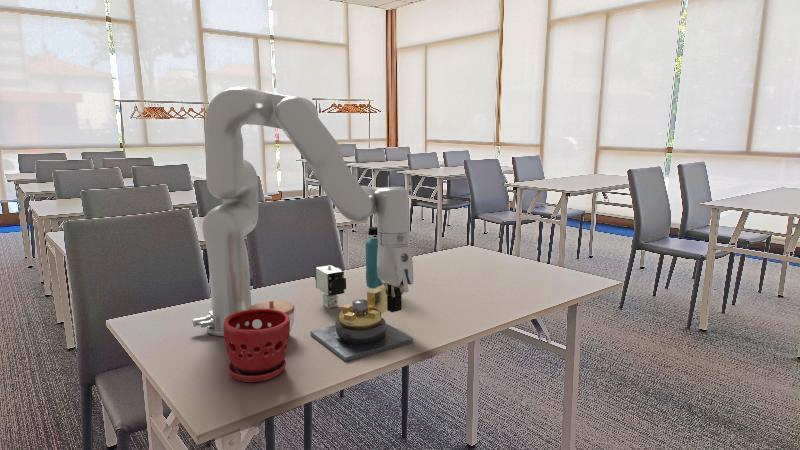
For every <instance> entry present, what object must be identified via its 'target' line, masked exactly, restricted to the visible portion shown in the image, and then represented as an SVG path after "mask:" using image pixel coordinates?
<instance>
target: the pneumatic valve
mask: <svg viewBox="0 0 800 450" xmlns="http://www.w3.org/2000/svg"><path fill="white" fill-rule="evenodd" d="M314 272H315V273H314V281H315V288H316V289H317V290H319V291H320V292H322V293H323V294H322V302H323V303H322V306H323V307H324V308H326V309H328V310H329V309H332V308H338V307H339V300H338V299H339V295H342V294H345V290H347V278H346V277H345V271H343V270H342V269H341V268H339V267H335V266H333V265H331V264H328V265H321V266H315V271H314Z"/></svg>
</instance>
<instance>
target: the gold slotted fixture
mask: <svg viewBox="0 0 800 450" xmlns="http://www.w3.org/2000/svg"><path fill="white" fill-rule="evenodd" d="M387 296H388V295H387V294H386V290H385V286H384V285H381V286H379V287H376V288H374V289H373V288H371V289H370V290H367V291H366V299H365V298H364V299H362V298H361V299H359V298H358V299H354V300H352V303H351V304H352V305H351V304H347V303H346V304H344V305H341V306H340V312H339V316H338V318H339V319H338V320H339V323H340V325H341V326H342V327H344V328H348V329H354V330H363V329H370V328H374V327H376V326H378V325H379V324H380V323H381V318H382V314H383V313H385V312H388V310H387Z"/></svg>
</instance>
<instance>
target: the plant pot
mask: <svg viewBox="0 0 800 450" xmlns="http://www.w3.org/2000/svg"><path fill="white" fill-rule="evenodd" d="M256 319H258V320H260V321H261V322H262V326H261V327H260V328H258V329H256V328H254V327H253V326H252V323H253V321H254V320H256ZM246 322H249V325H248V326H245V323H246ZM268 323H271V327H269V326H268ZM237 324H239V325H240V327H239V328H236V325H237ZM290 333H291V331H290V319H289V316H288V315H287V314H286V313H284V312H282V311H278V310H273V309H249V310H244V311H240V312H236V313H234V314H231V315H229V316H228V317H227V318H226V319H225V320H224V336H223V338H224V340H223V341H224V346H225V351H226V354H227V356H228V359H229V361H230V362H229V363H228V365H227V371H228V373H229V374H230V376H231V377H233V378H234V379H235V380H237V381H242V382H245V383H247V382H248V383H255V382H257V383H258V382H262V381H267V380H270V379H274V378H275V377H276V376H278V375H280V374H281V373H282V372H283V371H284V370H285V368H286V365H287V361H286V358H285V356H286V354H287V351H288V347H289V341H290Z"/></svg>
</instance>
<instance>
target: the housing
mask: <svg viewBox="0 0 800 450" xmlns="http://www.w3.org/2000/svg"><path fill="white" fill-rule="evenodd" d="M310 336H311V337H313V339H315V340H316V341H317V342H319V343H320V344H321V345H323V346H324V347H326V348H327V349H328V350H330V351H331V352H332V353H334V354H335V355H336V356H337V357H339V358H340V359H342V360H343V361H344V362H350V361H353V360H356V359H360V358H363V357H367V356H370V355H373V354H377V353H380V352H384V351H387V350H391V349H395V348H397V347H398V348H399V347H402V346H406V345H409V344H412V343H414V338H413V337H412V336H410V335H408V334H406V333H404V332H403V331H400V330H399V329H397V328H395V327H394V326H392V325H390V324H388V323H387V322H386V320H385V319H384V318H383V317H381V323H380V324H379V325H378V326H376V327H374V328H370V329H363V330H354V329H348V328H344V327H342V326H341V325H340V323H339V319H337V320H336V321H335V324H334V325H331V326H327V327H323V328H319V329H313V330H311V331H310Z"/></svg>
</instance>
